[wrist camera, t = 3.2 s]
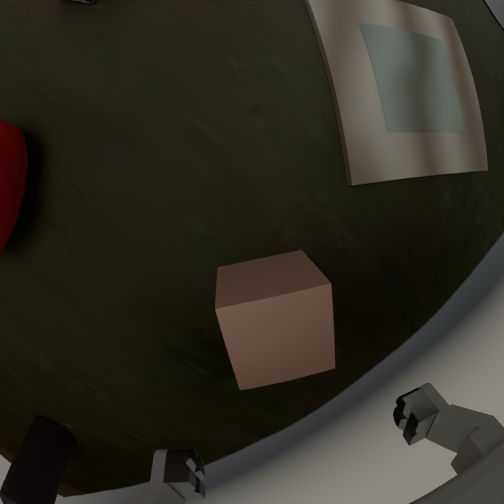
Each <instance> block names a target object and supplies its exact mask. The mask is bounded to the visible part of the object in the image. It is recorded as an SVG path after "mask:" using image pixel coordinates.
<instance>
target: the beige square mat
mask: <svg viewBox="0 0 504 504" xmlns="http://www.w3.org/2000/svg"><path fill="white" fill-rule="evenodd" d="M304 2H305V5H306V7H307V10H308V13H309V16H310V19H311V22H312V25H313V28H314V32H315V35H316V38H317V41H318V45H319V48H320V52H321V55H322V59H323V63H324V66H325V70H326V74H327V78H328V82H329V86H330V91H331V95H332V99H333V104H334V109H335V113H336V118H337V123H338V128H339V134H340V139H341V145H342V151H343V157H344V164H345V170H346V177H347V185H352V186H353V185H359V184H366V183H373V182H381V181H388V180H396V179H404V178H412V177H421V176H430V175H440V174H450V173H461V172H474V171H487V170H488V165H487V153H486V144H485V136H484V129H483V123H482V117H481V112H480V107H479V102H478V97H477V93H476V89H475V85H474V81H473V77H472V74H471V70H470V67H469V63H468V60H467V57H466V54H465V51H464V48H463V45H462V43H461V40H460V37H459V35H458V32H457V29H456V27H455V25H454V22H453V20H452V18H449V17H447V16H444V15H442V14H439V13H436V12H433V11H430V10H427V9H424V8H421V7H418V6H415V5H412V4H408V3H404V2H401V1H397V0H304Z"/></svg>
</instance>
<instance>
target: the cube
mask: <svg viewBox="0 0 504 504" xmlns="http://www.w3.org/2000/svg"><path fill="white" fill-rule="evenodd" d="M215 310H216V314H217V317H218V321H219V324H220V328H221V331H222V334H223V338H224V341H225V344H226V348H227V351H228V354H229V357H230V361H231V364H232V367H233V370H234V373H235V376H236V379H237V382H238V386H239V389H240V390H244V389H250V388H255V387H260V386H265V385H270V384H275V383H279V382H284V381H288V380H292V379H297V378H301V377H305V376H308V375H312V374H316V373H320V372H323V371H327V370H330V369H334V368H335V347H334V321H333V303H332V288H331V283H330V281H329V280H328V279H327V278H326V277H325V276H324V274H323V273H322V272H321V271H320V270H319V269H318V268H317V266H316V265H315V264H314V263H313V262H312V261H311V260H310V258H309V257H308V256H307V255H306V254H305V253H304V252H303V251H302V250H298V251H293V252H289V253H284V254H279V255H275V256H270V257H265V258H260V259H256V260H251V261H246V262H241V263H236V264H231V265H227V266H222V267H218V268H217V284H216V301H215Z"/></svg>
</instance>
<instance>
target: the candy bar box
mask: <svg viewBox="0 0 504 504" xmlns="http://www.w3.org/2000/svg"><path fill="white" fill-rule="evenodd" d="M64 1H76V2H81V3H89V4H93V3H94V2H95V1H96V0H64Z"/></svg>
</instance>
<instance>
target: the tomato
mask: <svg viewBox="0 0 504 504" xmlns="http://www.w3.org/2000/svg"><path fill="white" fill-rule="evenodd" d="M28 165H29V160H28V155H27V150H26V144H25V138H24V135H23V134H22V133H21V131H20V130H19V129H18V128H17V127H16V126H15V125H14V124H13V123H11V122H9V121H6V120H3V119H0V251H1V250H2V249H3V247H4V245H5V243H6V242H7V240H8V238H9V236H10V234H11V233H12V231H13V229H14V227H15V223H16V219H17V216H18V212H19V209H20V206H21V202H22V199H23V196H24V193H25V185H26V178H27V171H28Z"/></svg>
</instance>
